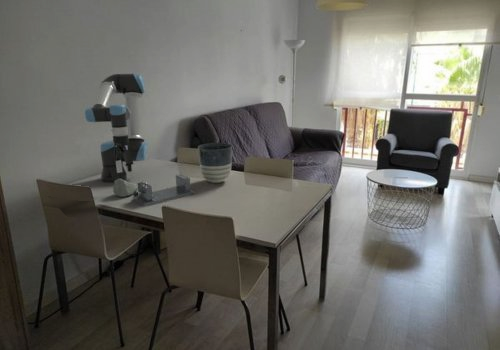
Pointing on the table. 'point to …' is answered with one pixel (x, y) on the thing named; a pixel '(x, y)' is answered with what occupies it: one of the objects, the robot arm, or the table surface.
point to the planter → (215, 161)
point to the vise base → (169, 192)
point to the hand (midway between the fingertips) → (124, 174)
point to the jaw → (144, 191)
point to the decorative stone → (124, 188)
